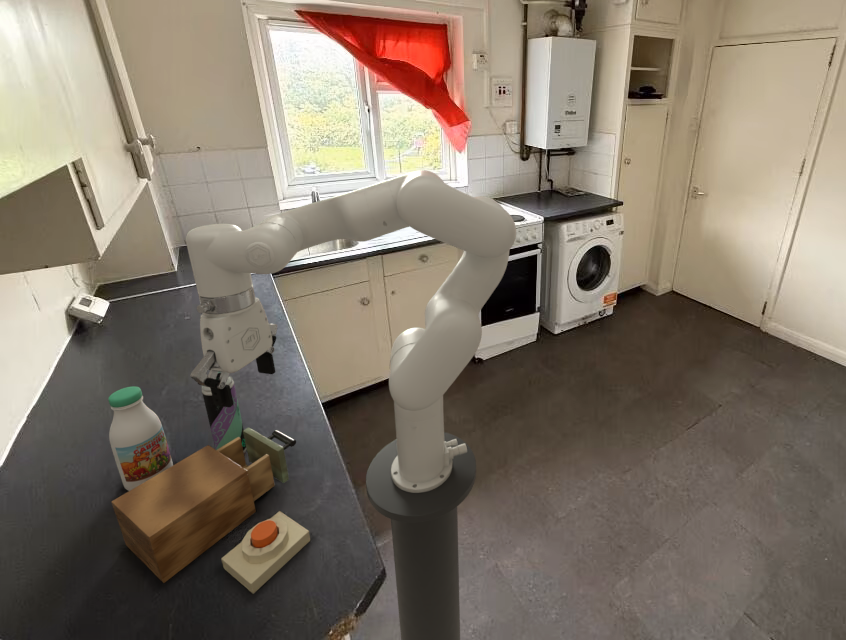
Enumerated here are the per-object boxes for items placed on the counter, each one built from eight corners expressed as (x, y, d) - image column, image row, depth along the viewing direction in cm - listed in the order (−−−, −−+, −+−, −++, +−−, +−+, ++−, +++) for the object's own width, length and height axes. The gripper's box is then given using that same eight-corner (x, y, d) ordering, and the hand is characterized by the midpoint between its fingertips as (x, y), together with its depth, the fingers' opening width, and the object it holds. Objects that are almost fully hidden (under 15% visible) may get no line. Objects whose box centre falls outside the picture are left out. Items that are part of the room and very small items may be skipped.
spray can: (211, 457, 90) (191, 376, 84) (234, 440, 95) (217, 362, 89) (230, 464, 88) (212, 382, 82) (253, 446, 93) (237, 367, 87)
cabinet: (217, 484, 84) (208, 444, 81) (256, 511, 78) (247, 470, 75) (126, 545, 71) (110, 501, 68) (163, 583, 66) (149, 537, 63)
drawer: (273, 445, 93) (268, 415, 90) (307, 465, 88) (303, 434, 85) (182, 505, 78) (173, 472, 75) (217, 534, 73) (208, 499, 70)
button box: (281, 520, 76) (278, 502, 75) (310, 540, 73) (307, 522, 72) (223, 568, 68) (218, 550, 67) (253, 594, 64) (248, 575, 63)
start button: (269, 524, 72) (267, 516, 71) (282, 534, 70) (280, 526, 70) (247, 541, 69) (245, 533, 68) (261, 552, 67) (259, 544, 67)
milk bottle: (113, 493, 81) (83, 406, 75) (145, 462, 88) (120, 380, 82) (154, 493, 81) (128, 405, 75) (183, 462, 89) (161, 380, 82)
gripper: (201, 325, 61) (225, 423, 66) (284, 282, 77) (298, 364, 82) (158, 320, 62) (184, 417, 67) (249, 279, 78) (264, 360, 83)
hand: (247, 388), depth 75 cm, fingers open, 9 cm apart
